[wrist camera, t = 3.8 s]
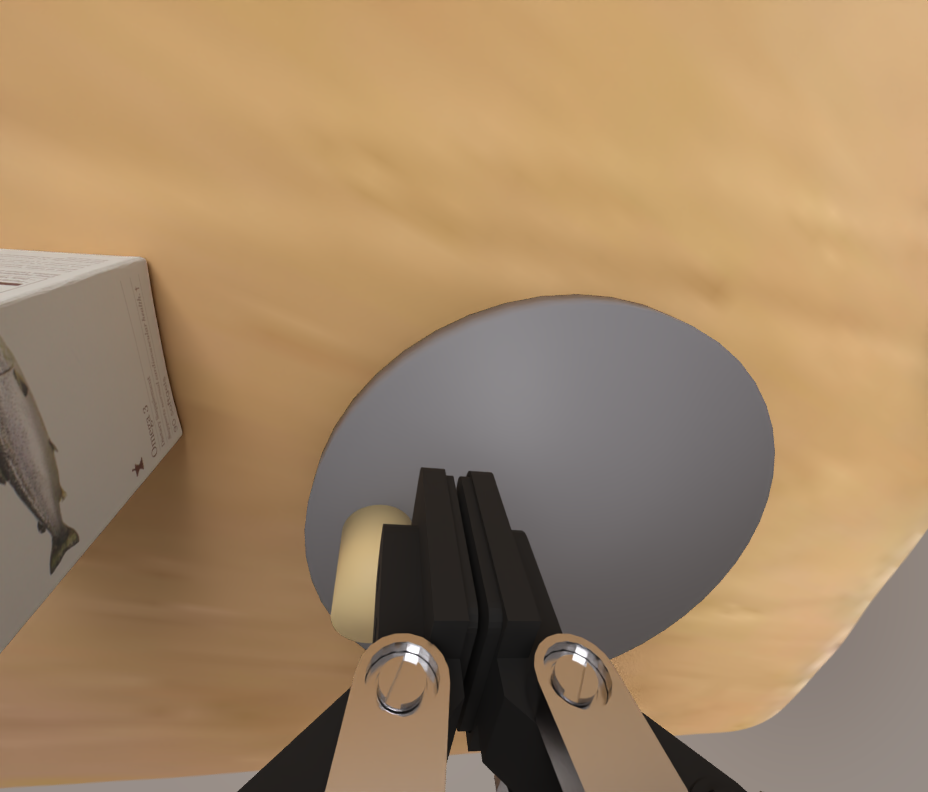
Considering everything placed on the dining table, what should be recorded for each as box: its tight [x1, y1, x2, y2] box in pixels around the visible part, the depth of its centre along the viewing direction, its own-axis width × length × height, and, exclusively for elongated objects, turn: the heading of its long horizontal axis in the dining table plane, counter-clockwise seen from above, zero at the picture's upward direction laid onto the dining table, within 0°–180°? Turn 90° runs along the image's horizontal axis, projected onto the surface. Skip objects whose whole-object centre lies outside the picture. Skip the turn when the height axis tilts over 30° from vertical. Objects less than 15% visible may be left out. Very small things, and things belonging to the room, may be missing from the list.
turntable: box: [305, 294, 775, 659], centre depth 19 cm, size 22×22×6 cm
